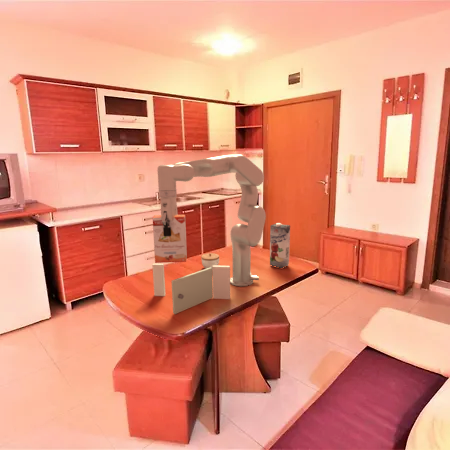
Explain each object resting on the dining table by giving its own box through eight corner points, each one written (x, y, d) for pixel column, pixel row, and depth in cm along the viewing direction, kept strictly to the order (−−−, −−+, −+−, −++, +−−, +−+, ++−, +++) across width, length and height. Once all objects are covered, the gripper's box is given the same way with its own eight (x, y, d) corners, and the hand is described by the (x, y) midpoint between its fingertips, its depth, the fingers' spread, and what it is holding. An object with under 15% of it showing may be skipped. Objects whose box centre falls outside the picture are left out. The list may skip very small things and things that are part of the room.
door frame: (230, 297, 152) (230, 265, 149) (229, 299, 151) (229, 267, 147) (155, 294, 157) (153, 263, 153) (154, 295, 155) (152, 264, 151)
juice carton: (276, 262, 200) (277, 220, 193) (290, 266, 192) (292, 222, 186) (267, 266, 193) (268, 222, 187) (282, 270, 186) (283, 225, 180)
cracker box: (154, 263, 141) (151, 217, 136) (156, 259, 147) (153, 214, 142) (186, 262, 142) (184, 216, 137) (187, 258, 148) (185, 213, 143)
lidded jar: (197, 269, 190) (197, 254, 188) (208, 264, 198) (208, 249, 196) (212, 272, 184) (212, 257, 182) (222, 267, 193) (222, 252, 190)
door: (211, 296, 152) (210, 267, 149) (215, 298, 150) (214, 268, 147) (173, 313, 137) (171, 280, 134) (177, 315, 135) (175, 282, 132)
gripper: (170, 196, 129) (172, 239, 133) (181, 191, 145) (183, 229, 149) (152, 196, 130) (155, 239, 134) (165, 191, 146) (167, 229, 150)
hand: (169, 233), depth 141 cm, fingers closed on cracker box, 6 cm apart
